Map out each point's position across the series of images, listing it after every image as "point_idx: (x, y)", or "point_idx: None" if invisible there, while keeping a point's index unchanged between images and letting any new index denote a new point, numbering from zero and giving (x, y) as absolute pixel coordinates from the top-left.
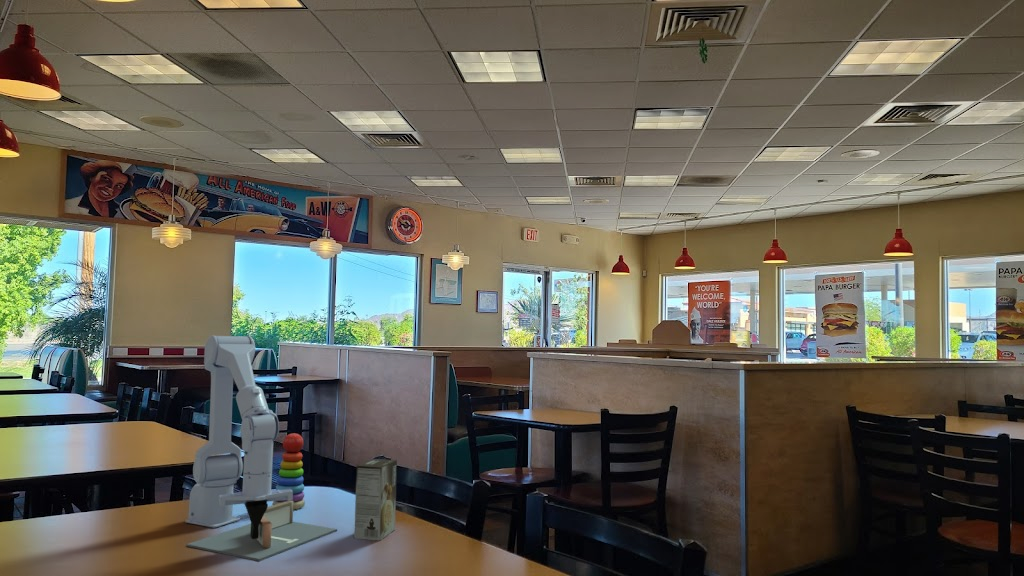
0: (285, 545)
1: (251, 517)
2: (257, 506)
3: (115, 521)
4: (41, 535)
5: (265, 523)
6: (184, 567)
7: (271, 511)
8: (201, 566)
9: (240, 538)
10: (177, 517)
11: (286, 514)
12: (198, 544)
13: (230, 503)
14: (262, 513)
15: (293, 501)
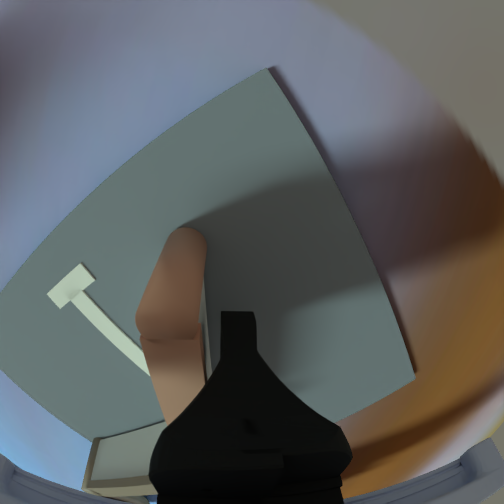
0: (97, 240)
1: (292, 393)
2: (270, 465)
3: (402, 478)
4: (484, 431)
5: (181, 334)
6: (499, 176)
7: (144, 475)
8: (471, 151)
9: None
10: None
11: (102, 460)
12: (397, 369)
13: (437, 477)
14: (202, 409)
15: (105, 497)
